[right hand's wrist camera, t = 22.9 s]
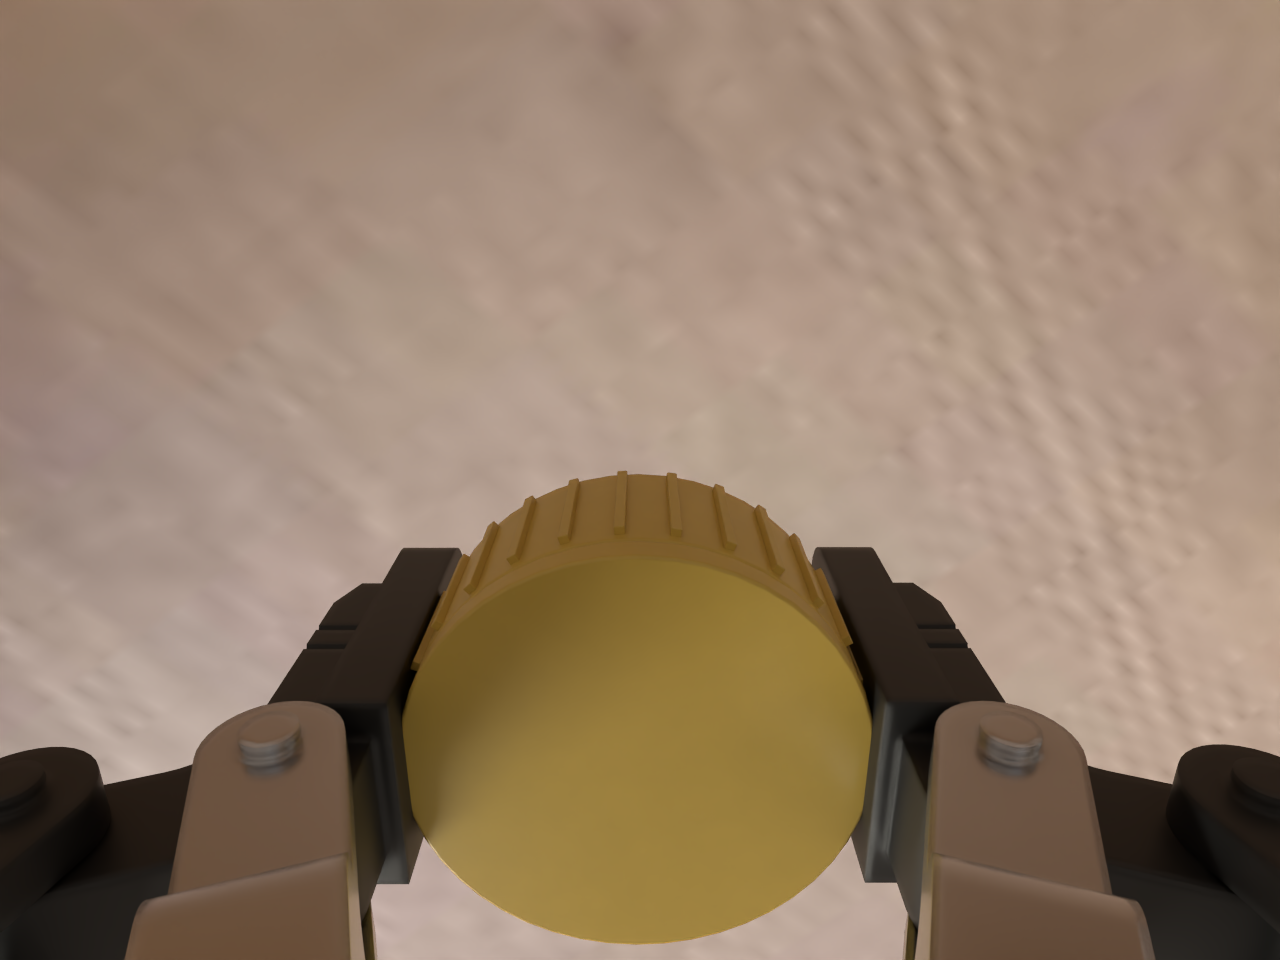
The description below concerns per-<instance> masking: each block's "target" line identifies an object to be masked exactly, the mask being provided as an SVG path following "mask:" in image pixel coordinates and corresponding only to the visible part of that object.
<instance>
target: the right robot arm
mask: <svg viewBox="0 0 1280 960" xmlns="http://www.w3.org/2000/svg"><path fill="white" fill-rule="evenodd" d="M461 557H462V553H461V551H460V549H459V548H403V549H402V550H401V552H400V553H399V555H398V557H397V558H396V560H395V562H394V564H393V565H392V567H391V569H390V571H389V572H388V574H387V576H386V578H385V579H384V581H383V583H382V584H361V585H359V586H358V587H356V588H355V589H354V590H352V591H351V592H349V593H348V594H346V595H345V596H343V597H342V598H340V599H339V600H337V601H336V602H335V603H334V604H333V605H332V607H331V608H330V610H329V611H328V613H327V614H326V616H325V617H324V619H323V620H322V622H321V623H320V625H319V630H316V631H315V633H314V634H313V636H312V637H311V639H310V640H309V642H308V643H307V649H303V651H302V652H301V654H300V655H299V657H298V659H297V660H296V662H295V663H294V665H293V666H292V668H291V669H290V671H289V672H288V674H287V675H286V677H285V678H284V680H283V681H282V683H281V684H280V686H279V688H278V689H277V691H276V692H275V694H274V695H273V697H272V698H271V700H270V701H269V703H268V704H267V705H263V706H260V707H257V708H254V709H250V710H248V711H246V712H243V713H241V714H238V715H236V716H235V717H233V718H231V719H229V720H227V721H225V722H224V723H222V724H221V725H220V726H218V727H217V728H215V729H214V730H213V731H212V732H211V733H210V734H208V735H207V737H206V738H205V739H204V740H203V741H202V742H201V744H200V745H199V747H198V749H197V750H196V753H195V756H194V760H193V764H192V765H189V766H186V767H183V768H180V769H176V770H172V771H168V772H164V773H160V774H155V775H150V776H145V777H140V778H136V779H131V780H126V781H121V782H116V783H112V784H107V785H103V781H102V777H101V774H100V770H99V767H98V764H97V762H96V760H95V759H94V758H93V757H92V756H91V755H90V754H88V753H86V752H84V751H82V750H78V749H75V748H67V747H47V748H38V749H33V750H27V751H23V752H19V753H15V754H12V755H8V756H5V757H2V758H0V960H377V947H376V934H375V927H374V920H373V913H372V907H371V898H372V896H373V893H374V890H375V887H376V884H409V882H410V879H411V876H412V873H413V869H414V866H415V863H416V860H417V856H418V853H419V850H420V847H421V843H422V840H423V837H424V835H423V833H422V832H421V830H420V828H419V826H418V824H417V822H416V821H415V819H414V817H413V812H412V805H411V797H410V789H409V780H408V772H407V763H406V755H405V747H404V738H403V728H402V713H403V709H404V706H405V703H406V699H407V696H408V693H409V689H410V687H411V685H412V682H413V680H414V677H415V675H416V673H417V671H414V670H411V665H412V662H413V660H414V657H415V655H416V653H417V650H418V648H419V646H420V644H421V641H422V639H423V637H424V634H425V632H426V630H427V627H428V625H429V623H430V621H431V618H432V616H433V614H434V611H435V609H436V607H437V605H438V602H439V600H440V598H441V595H442V593H443V591H446V590H447V588H448V585H449V583H450V581H451V578H452V576H453V574H454V571H455V569H456V567H457V564H458V562H459V560H460V558H461ZM812 567H813V568H814V570H817V569H819V568H821V569H822V571H823V573H824V575H825V577H826V579H827V582H828V584H829V587H830V589H831V591H832V594H833V596H834V599H835V601H836V603H837V606H838V608H839V611H840V613H841V615H842V618H843V620H844V622H845V625H846V627H847V630H848V632H849V634H850V637H851V639H852V642H853V643H852V644H850V645H849V646H850V649H851V651H852V654H853V656H854V659H855V661H856V664H857V666H858V668H859V671H860V673H861V676H862V678H863V684H862V685H863V687H864V690H865V693H866V696H867V700H868V703H869V707H870V710H871V714H872V734H871V743H870V752H869V760H868V769H867V777H866V786H865V795H864V803H863V810H862V815H861V818H860V820H859V822H858V824H857V825H856V827H855V829H854V831H853V833H852V835H851V838H852V841H853V844H854V848H855V851H856V854H857V858H858V861H859V864H860V868H861V871H862V874H863V878H864V881H865V883H897V884H898V887H899V890H900V893H901V896H902V898H903V901H904V904H905V907H906V910H907V912H908V913H907V920H906V927H905V934H904V947H903V960H1280V757H1278V756H1275V755H1273V754H1270V753H1267V752H1263V751H1259V750H1256V749H1252V748H1246V747H1241V746H1234V745H1206V746H1200V747H1197V748H1193V749H1191V750H1190V751H1188V752H1186V753H1185V754H1184V755H1183V756H1182V757H1181V759H1180V761H1179V763H1178V767H1177V770H1176V774H1175V777H1174V781H1173V784H1168V783H1163V782H1158V781H1154V780H1149V779H1144V778H1139V777H1134V776H1129V775H1125V774H1120V773H1115V772H1110V771H1106V770H1102V769H1098V768H1094V767H1091V766H1088V765H1087V760H1086V756H1085V753H1084V750H1083V749H1082V747H1081V745H1080V744H1079V742H1078V741H1077V740H1076V739H1075V738H1074V737H1073V735H1072V734H1070V733H1069V732H1068V731H1067V730H1066V729H1065V728H1063V727H1062V726H1060V725H1059V724H1058V723H1056V722H1055V721H1053V720H1051V719H1049V718H1047V717H1045V716H1044V715H1042V714H1039V713H1037V712H1034V711H1032V710H1030V709H1026V708H1023V707H1020V706H1017V705H1012V704H1008V703H1006V702H1005V701H1004V699H1003V698H1002V696H1001V695H1000V693H999V691H998V690H997V688H996V687H995V685H994V684H993V682H992V681H991V679H990V677H989V676H988V674H987V673H986V671H985V670H984V668H983V667H982V665H981V663H980V662H979V660H978V659H977V657H976V656H975V654H974V653H973V651H972V650H971V648H968V646H967V644H968V643H967V642H966V640H965V639H964V637H963V636H962V634H961V632H960V631H959V629H956V628H955V623H954V622H953V620H952V618H951V617H950V615H949V614H948V612H947V611H946V609H945V608H944V606H943V605H942V603H941V602H940V601H939V600H937V599H936V598H934V597H933V596H931V595H930V594H928V593H927V592H926V591H924V590H923V589H921V588H920V587H918V586H917V585H915V584H914V583H893V582H892V581H891V579H890V577H889V575H888V574H887V572H886V570H885V568H884V566H883V565H882V563H881V561H880V559H879V558H878V556H877V554H876V552H875V551H874V549H873V548H871V547H817V548H816V549H815V551H814V554H813V559H812Z"/></svg>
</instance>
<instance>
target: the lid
mask: <svg viewBox="0 0 1280 960" xmlns="http://www.w3.org/2000/svg"><path fill="white" fill-rule="evenodd" d="M852 643H853V642H852V639H851V637H850V634H849V632H848V630H847V627H846V625H845V622H844V620H843V618H842V615H841V613H840V611H839V608H838V606H837V603H836V601H835V599H834V596H833V594H832V591H831V589H830V587H829V584H828V582H827V579H826V577H825V575H824V573H823V571H822V569H821V568H819V569H817V570H814V568H813V567H812V565H811V564H810V562H809V561H808V559H807V557H806V554H805V551H804V549H803V546H802V544H801V541H800V539H799V538H798V537H797V536H796V534H792V535H791V536H790V537H789V535H788V534H787V533H786V532H785V531H784V530H783V529H781V528H780V527H779V526H778V525H777V524H776V523H774V522H773V521H772V520H771V519H770V518H768V515H767V512H766V509H765V508H763V507H762V506H760V505H758V506H757V507H756V508H754V507H752V506H751V505H749V504H748V503H746V502H744V501H742V500H740V499H738V498H736V497H734V496H732V495H730V494H728V493H725V490H724V487H723V486H720V485H717V484H715V486H714V488H713V487H710V486H706V485H703V484H700V483H697V482H694V481H689V480H684V479H679V478H677V474H675V473H667V476H657V475H642V474H635V475H627V471H618V472H617V476H607V477H602V478H596V479H591V480H585V481H581V482H579V480H578V478H577V479H573V480H570V481H569V484H568V486H565V487H562V488H559V489H556V490H554V491H552V492H550V493H548V494H545V495H543V496H541V497H539V498H537V499H535V498H534V497H533V496H531V497H529V498H527V499H525V501H524V505H523V507H521V508H520V509H518V510H517V511H515V512H513V513H512V514H510V515H509V516H508V517H507V518H506V519H504V520H503V521H502V522H501V523H500V524H496V523H495V522H492V523H491V524H490V525H489V526H488V527H487V530H486V533H485V535H484V538H483V540H482V541H481V542H480V543H479V545H478V546H477V547H476V548H475V549H474V551H473V552H472V554H471V555H470V557H469V556H467V555H465V554H463V555H462V557H461V558H460V560H459V562H458V564H457V567H456V569H455V571H454V574H453V576H452V578H451V581H450V583H449V585H448V588H447V590H446V591H443V593H442V595H441V598H440V600H439V602H438V605H437V607H436V609H435V611H434V614H433V616H432V618H431V621H430V623H429V625H428V627H427V630H426V632H425V634H424V637H423V639H422V641H421V644H420V646H419V648H418V650H417V653H416V655H415V657H414V660H413V662H412V665H411V670H414V671H417V673H416V675H415V677H414V680H413V682H412V685H411V687H410V689H409V693H408V696H407V699H406V703H405V706H404V709H403V713H402V728H403V738H404V747H405V755H406V763H407V772H408V780H409V789H410V797H411V805H412V812H413V817H414V819H415V821H416V822H417V824H418V826H419V828H420V830H421V832H422V833H423V835H424V837H425V839H426V840H427V842H428V843H429V845H430V846H431V847H432V849H433V850H434V851H435V853H436V854H437V855H438V857H439V858H440V860H441V861H442V862H443V863H444V864H445V865H446V866H447V867H448V868H449V869H450V870H451V871H452V872H453V873H454V874H455V875H456V876H457V877H458V878H459V879H460V880H461V881H462V882H463V883H465V884H466V885H467V886H468V887H470V888H471V889H472V890H473V891H474V892H476V893H477V894H478V895H479V896H481V897H482V898H484V899H486V900H487V901H489V902H490V903H492V904H493V905H495V906H497V907H498V908H500V909H501V910H503V911H505V912H507V913H509V914H511V915H513V916H515V917H517V918H519V919H521V920H523V921H525V922H527V923H530V924H533V925H536V926H538V927H541V928H544V929H547V930H549V931H552V932H556V933H559V934H563V935H567V936H571V937H575V938H579V939H585V940H591V941H598V942H605V943H617V944H635V945H637V944H660V943H670V942H677V941H684V940H691V939H696V938H700V937H704V936H708V935H712V934H716V933H720V932H723V931H726V930H728V929H731V928H734V927H737V926H740V925H743V924H745V923H747V922H750V921H752V920H754V919H756V918H758V917H760V916H762V915H764V914H766V913H768V912H770V911H772V910H774V909H775V908H777V907H778V906H780V905H782V904H783V903H785V902H786V901H788V900H790V899H791V898H793V897H794V896H795V895H797V894H798V893H799V892H800V891H802V890H803V889H804V888H806V887H807V886H808V885H809V884H811V883H812V882H813V881H814V880H815V879H816V878H817V877H818V876H819V875H820V874H821V873H822V872H823V871H824V870H825V869H826V868H827V867H828V866H829V865H830V864H831V863H832V862H833V860H834V859H835V858H836V856H837V855H838V854H839V852H840V851H841V850H842V848H843V847H844V846H845V844H846V843H847V842H848V840H849V838H850V836H851V835H852V833H853V831H854V829H855V827H856V825H857V824H858V822H859V820H860V818H861V815H862V810H863V803H864V795H865V786H866V777H867V769H868V760H869V752H870V743H871V734H872V714H871V710H870V707H869V703H868V700H867V696H866V693H865V690H864V687H863V685H862V684H863V678H862V676H861V673H860V671H859V668H858V666H857V664H856V661H855V659H854V656H853V654H852V651H851V649H850V646H849V645H850V644H852Z"/></svg>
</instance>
